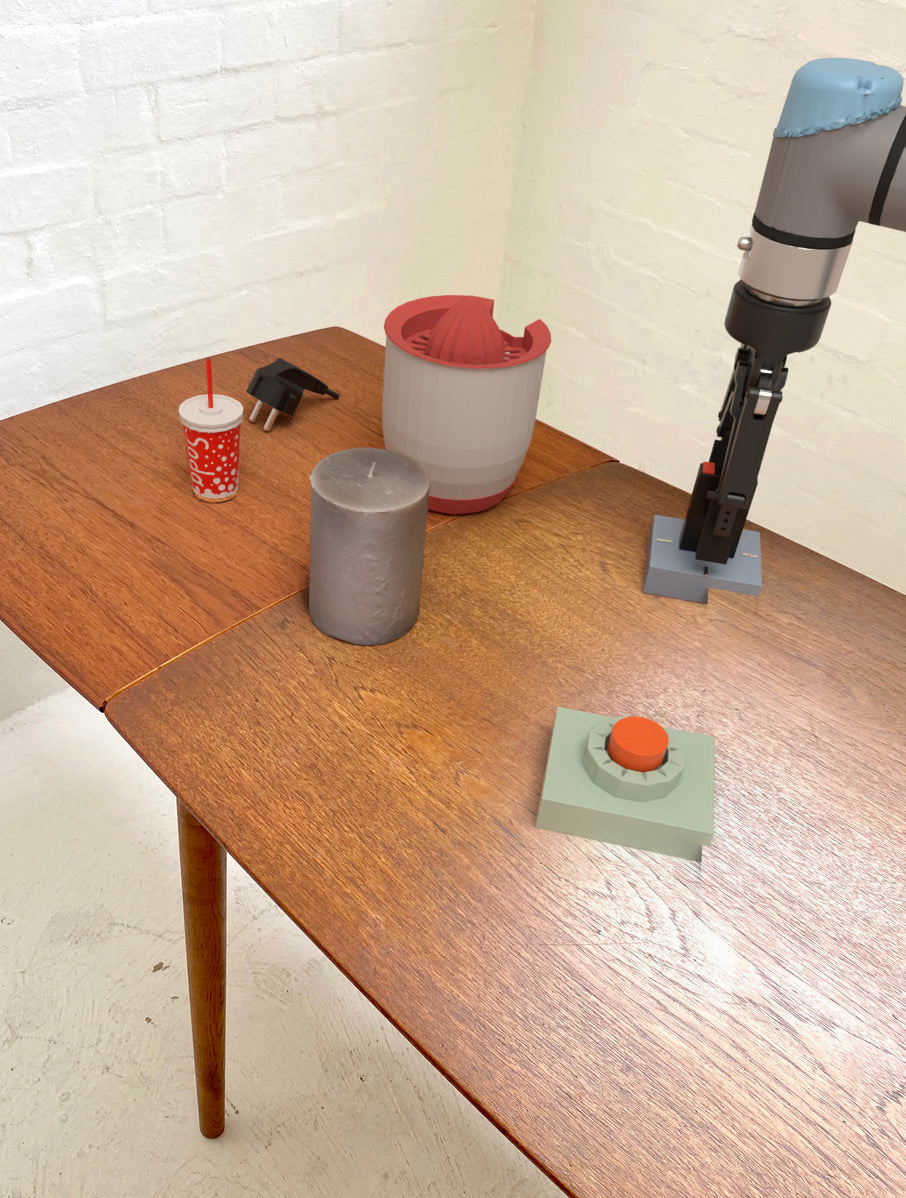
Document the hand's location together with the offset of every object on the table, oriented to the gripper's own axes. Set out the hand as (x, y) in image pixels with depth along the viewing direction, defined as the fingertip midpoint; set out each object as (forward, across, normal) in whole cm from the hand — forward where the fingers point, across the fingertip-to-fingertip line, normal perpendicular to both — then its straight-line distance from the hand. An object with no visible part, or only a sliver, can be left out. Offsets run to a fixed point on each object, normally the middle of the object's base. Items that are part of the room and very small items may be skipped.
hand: (711, 531), depth 102 cm
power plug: (+5, -18, -45) cm, 49 cm away
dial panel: (+5, 0, 0) cm, 5 cm away
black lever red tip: (+2, 0, 0) cm, 2 cm away
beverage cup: (+5, 0, -48) cm, 48 cm away
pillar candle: (+5, +15, -29) cm, 33 cm away
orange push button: (0, +31, -5) cm, 31 cm away
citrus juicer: (+5, -9, -25) cm, 27 cm away
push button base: (+5, +31, -5) cm, 32 cm away
